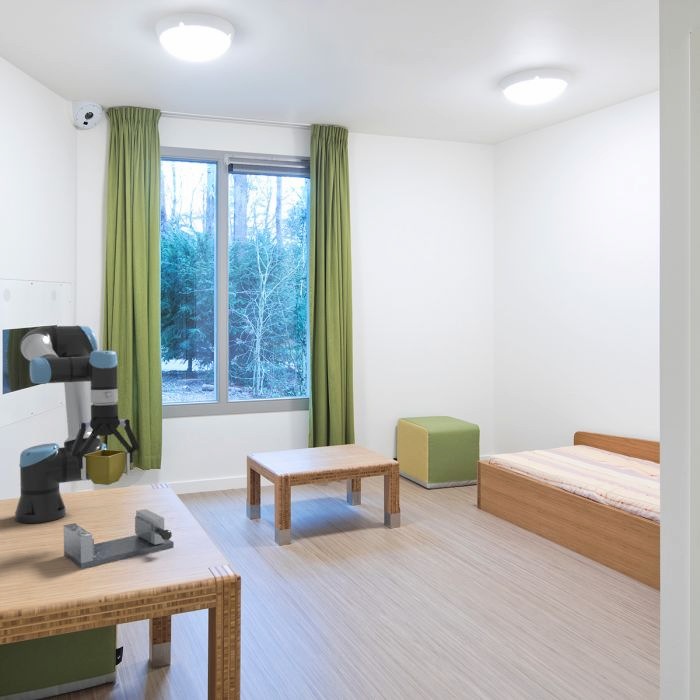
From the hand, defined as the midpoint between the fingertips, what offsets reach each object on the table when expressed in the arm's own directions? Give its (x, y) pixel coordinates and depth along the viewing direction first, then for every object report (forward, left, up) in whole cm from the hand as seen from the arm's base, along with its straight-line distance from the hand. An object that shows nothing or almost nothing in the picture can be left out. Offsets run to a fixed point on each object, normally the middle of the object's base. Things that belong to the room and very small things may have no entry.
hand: (105, 477), depth 203 cm
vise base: (+13, -1, -18) cm, 23 cm away
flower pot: (0, 0, -2) cm, 2 cm away
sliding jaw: (+16, +7, -17) cm, 24 cm away
